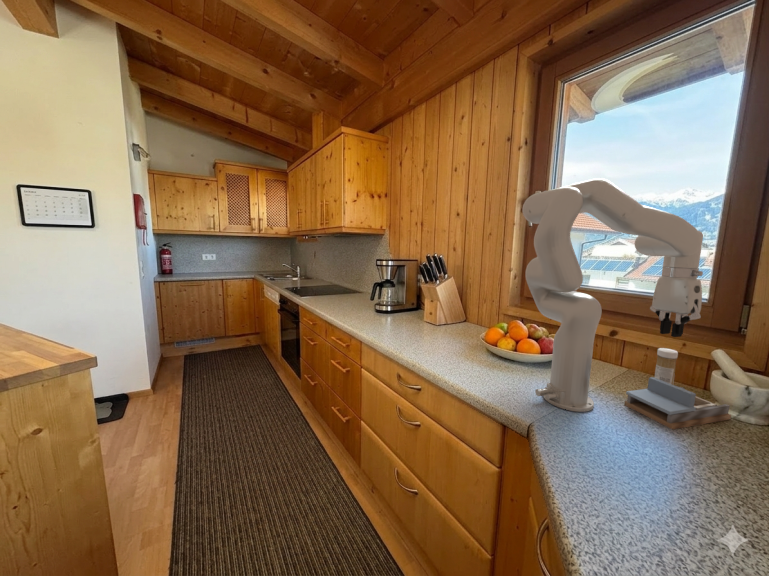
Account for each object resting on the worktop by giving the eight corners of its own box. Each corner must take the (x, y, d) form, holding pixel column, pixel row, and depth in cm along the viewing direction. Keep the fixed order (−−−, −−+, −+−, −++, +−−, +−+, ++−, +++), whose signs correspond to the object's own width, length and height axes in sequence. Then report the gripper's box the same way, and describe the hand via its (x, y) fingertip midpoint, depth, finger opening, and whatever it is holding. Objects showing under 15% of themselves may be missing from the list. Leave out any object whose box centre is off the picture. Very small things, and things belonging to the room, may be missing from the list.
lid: (669, 414, 76) (672, 398, 75) (626, 394, 86) (627, 379, 86) (695, 410, 78) (697, 394, 77) (649, 390, 88) (651, 376, 88)
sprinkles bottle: (674, 393, 95) (680, 350, 93) (669, 397, 92) (675, 353, 90) (655, 387, 98) (660, 346, 96) (649, 390, 96) (655, 349, 94)
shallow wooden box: (672, 429, 76) (674, 416, 75) (624, 404, 87) (625, 393, 87) (730, 419, 81) (732, 406, 80) (677, 397, 92) (679, 386, 92)
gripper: (724, 276, 83) (713, 342, 86) (659, 271, 99) (651, 327, 101) (703, 276, 81) (693, 344, 84) (640, 271, 97) (633, 328, 99)
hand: (670, 334), depth 93 cm, fingers closed
